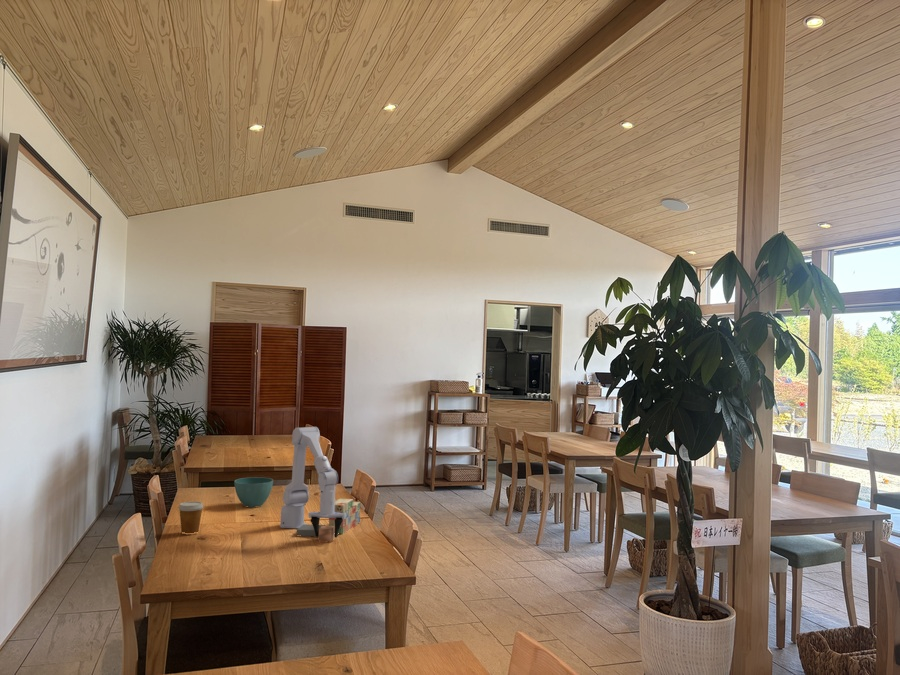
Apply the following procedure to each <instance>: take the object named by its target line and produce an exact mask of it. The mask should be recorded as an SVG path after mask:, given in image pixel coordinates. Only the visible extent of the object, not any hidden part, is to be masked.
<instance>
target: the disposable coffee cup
mask: <svg viewBox="0 0 900 675" xmlns="http://www.w3.org/2000/svg"><path fill="white" fill-rule="evenodd" d="M203 508H204V505H203V502H202V501H185V502H181V503H179V505H178V510H179V518H180V520H179V521H180V529H181V533H182V532H185V533H194V532H198V533H199V530H200V525H201V518H202V513H203V512H202V511H203Z"/></svg>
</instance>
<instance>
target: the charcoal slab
mask: <svg viewBox="0 0 900 675" xmlns="http://www.w3.org/2000/svg"><path fill="white" fill-rule="evenodd" d="M322 526H326V525H325V524H319V528H321V527H322ZM297 535H301V536H300V537H309V536H316V535H315V530H314V527H313V525H312V524H308V523H307V524H303V525H302V526H301V527H299V528H296V536H297Z"/></svg>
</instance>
